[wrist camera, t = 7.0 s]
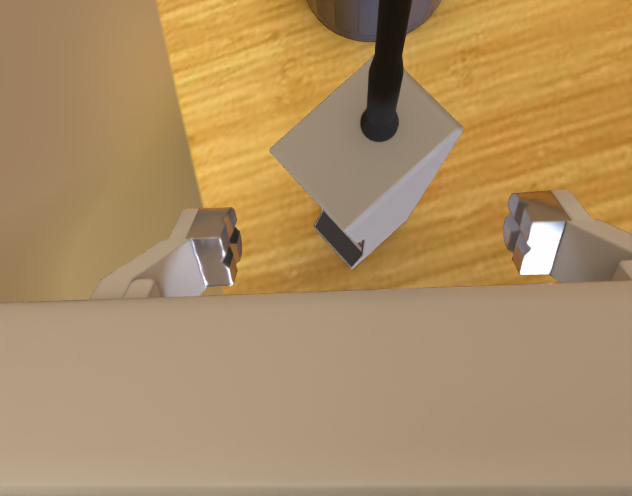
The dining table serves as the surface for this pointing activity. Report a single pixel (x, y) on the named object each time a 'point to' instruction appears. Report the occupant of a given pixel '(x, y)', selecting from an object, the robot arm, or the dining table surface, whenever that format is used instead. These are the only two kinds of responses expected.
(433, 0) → the dark grey mug
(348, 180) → the vintage mobile phone
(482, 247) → the dining table surface
